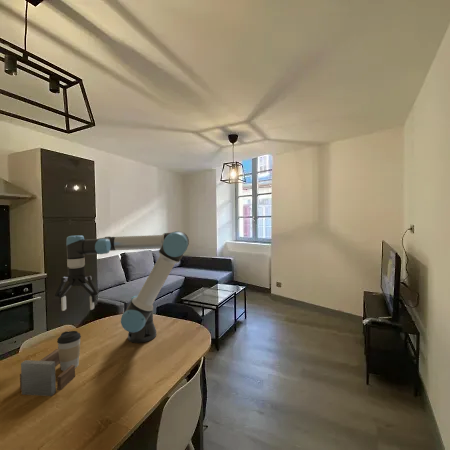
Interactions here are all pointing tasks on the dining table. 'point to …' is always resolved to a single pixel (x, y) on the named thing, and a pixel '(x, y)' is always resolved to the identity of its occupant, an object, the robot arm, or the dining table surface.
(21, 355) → the dining table surface
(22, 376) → the grey bookend
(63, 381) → the walnut shelf wall
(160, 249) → the robot arm
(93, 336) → the dining table surface
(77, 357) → the coffee cup
